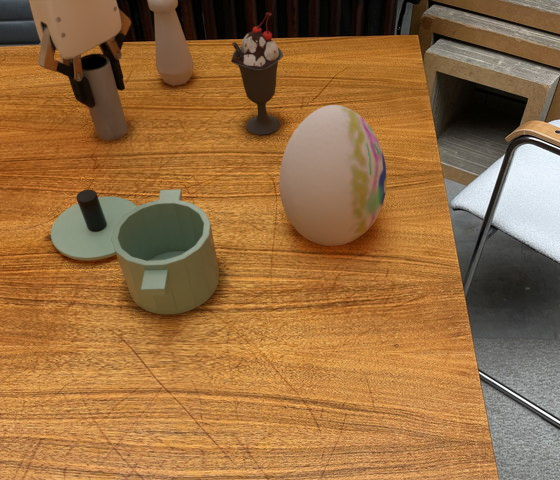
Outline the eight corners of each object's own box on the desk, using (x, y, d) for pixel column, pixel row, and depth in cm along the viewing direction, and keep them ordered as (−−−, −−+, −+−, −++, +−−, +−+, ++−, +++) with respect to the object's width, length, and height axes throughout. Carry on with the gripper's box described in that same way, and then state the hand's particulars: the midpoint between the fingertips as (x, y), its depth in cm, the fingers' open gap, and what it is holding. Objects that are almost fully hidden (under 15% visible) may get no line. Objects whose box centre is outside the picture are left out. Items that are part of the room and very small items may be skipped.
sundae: (295, 120, 92) (291, 10, 80) (268, 143, 89) (260, 33, 77) (258, 107, 94) (248, -1, 82) (231, 130, 91) (217, 21, 79)
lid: (44, 266, 76) (26, 229, 72) (64, 204, 83) (49, 168, 78) (138, 262, 75) (126, 225, 71) (151, 201, 82) (141, 164, 78)
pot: (118, 334, 69) (99, 285, 63) (139, 236, 78) (124, 185, 72) (213, 332, 68) (203, 282, 62) (223, 233, 78) (215, 182, 72)
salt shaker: (202, 73, 101) (188, -16, 91) (184, 91, 98) (168, 1, 88) (170, 66, 103) (153, -21, 92) (152, 84, 100) (132, -5, 89)
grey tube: (91, 132, 93) (68, 62, 85) (117, 119, 94) (97, 49, 86) (107, 144, 91) (86, 74, 82) (134, 131, 92) (115, 61, 84)
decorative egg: (389, 254, 74) (402, 139, 62) (284, 262, 74) (277, 149, 62) (375, 188, 81) (383, 74, 69) (279, 196, 82) (272, 83, 70)
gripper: (94, -84, 79) (130, 62, 93) (-23, -36, 71) (36, 114, 86) (134, -72, 76) (164, 77, 90) (16, -20, 68) (70, 133, 83)
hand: (101, 94), depth 88 cm, fingers closed on grey tube, 4 cm apart
